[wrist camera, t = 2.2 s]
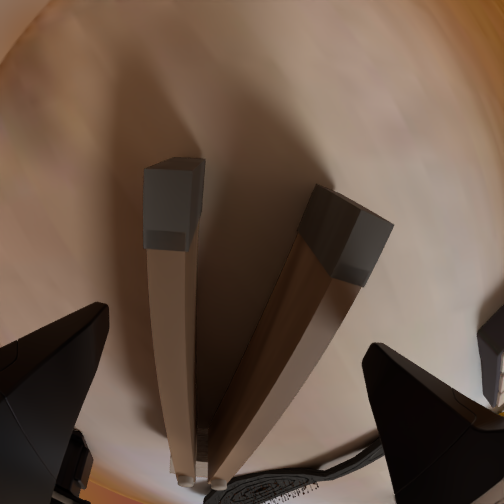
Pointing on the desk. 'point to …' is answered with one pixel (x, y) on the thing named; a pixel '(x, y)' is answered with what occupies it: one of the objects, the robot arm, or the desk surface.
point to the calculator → (492, 358)
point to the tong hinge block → (199, 454)
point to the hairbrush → (287, 480)
